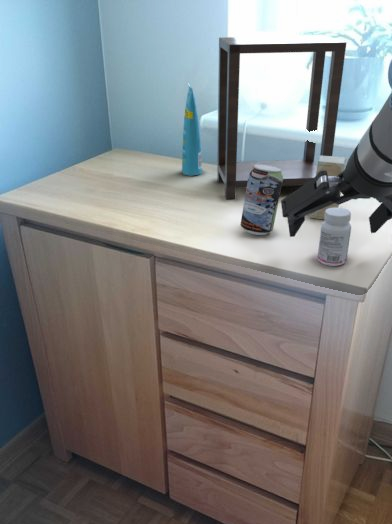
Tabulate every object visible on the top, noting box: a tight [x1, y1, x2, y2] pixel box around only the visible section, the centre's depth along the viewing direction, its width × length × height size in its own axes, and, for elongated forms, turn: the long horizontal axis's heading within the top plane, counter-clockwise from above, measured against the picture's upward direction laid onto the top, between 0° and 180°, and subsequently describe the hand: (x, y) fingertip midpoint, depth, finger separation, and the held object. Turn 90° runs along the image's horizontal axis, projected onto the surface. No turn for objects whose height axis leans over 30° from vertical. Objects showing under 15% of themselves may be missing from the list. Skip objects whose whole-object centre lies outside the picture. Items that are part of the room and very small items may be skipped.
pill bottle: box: [317, 207, 352, 267], centre depth 90 cm, size 5×5×8 cm
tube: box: [181, 83, 203, 177], centre depth 129 cm, size 7×5×19 cm, turn 12°
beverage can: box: [240, 164, 283, 236], centre depth 100 cm, size 6×7×12 cm
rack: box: [216, 35, 347, 201], centre depth 117 cm, size 14×22×29 cm, turn 96°
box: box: [309, 155, 348, 220], centre depth 107 cm, size 5×4×11 cm
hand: (331, 227), depth 91 cm, fingers open, 13 cm apart
